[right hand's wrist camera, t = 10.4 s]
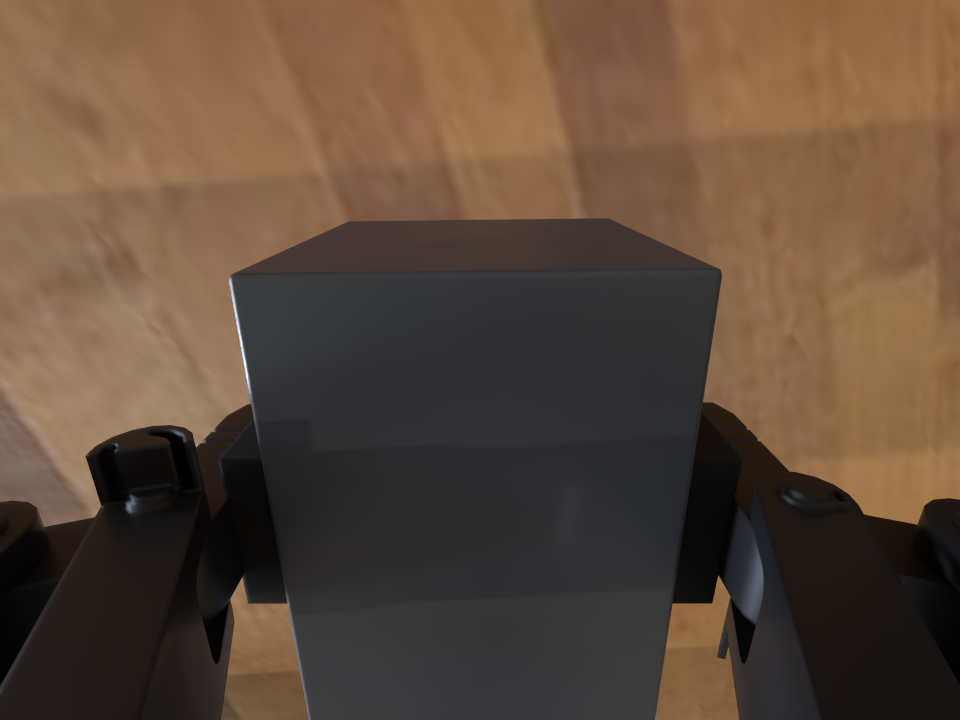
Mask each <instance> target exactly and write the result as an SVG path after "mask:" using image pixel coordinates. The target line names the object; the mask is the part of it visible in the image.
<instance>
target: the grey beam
mask: <svg viewBox="0 0 960 720" xmlns="http://www.w3.org/2000/svg"><path fill="white" fill-rule="evenodd" d="M721 278H722V274H721V270H720V269H718V268H716V267H713V266H711V265H709V264H707V263H705V262H702V261H700V260H698V259H696V258H694V257H691V256H689V255H687V254H685V253H683V252H680V251H678V250H676V249H674V248H672V247H669V246H667V245H665V244H663V243H661V242H658V241H656V240H654V239H652V238H650V237H647V236H645V235H643V234H641V233H639V232H636V231H634V230H632V229H630V228H628V227H625V226H623V225H621V224H619V223H617V222H614V221H612V220H610V219H608V218H606V219H524V220H442V221H360V222H347V223H344V224H342V225H340V226H338V227H336V228H333V229H331V230H329V231H327V232H325V233H322V234H320V235H318V236H316V237H314V238H311V239H309V240H307V241H305V242H303V243H300V244H298V245H296V246H294V247H291V248H289V249H287V250H285V251H283V252H280V253H278V254H276V255H274V256H272V257H269V258H267V259H265V260H263V261H261V262H258V263H256V264H254V265H252V266H250V267H247V268H245V269H243V270H241V271H238V272H236V273H234V274H232V275H230V277H229V285H230V291H231V296H232V302H233V307H234V313H235V318H236V324H237V329H238V335H239V340H240V346H241V351H242V357H243V362H244V368H245V373H246V379H247V384H248V389H249V395H250V400H251V406H252V411H253V417H254V422H255V428H256V433H257V439H258V444H259V450H260V455H261V461H262V466H263V472H264V477H265V482H266V488H267V493H268V499H269V504H270V510H271V515H272V521H273V526H274V532H275V537H276V543H277V548H278V554H279V559H280V565H281V570H282V575H283V581H284V586H285V592H286V597H287V603H288V608H289V614H290V619H291V625H292V630H293V636H294V641H295V647H296V652H297V658H298V663H299V668H300V674H301V679H302V685H303V690H304V696H305V701H306V707H307V712H308V718H309V720H655V715H656V708H657V701H658V695H659V688H660V682H661V675H662V668H663V662H664V655H665V649H666V642H667V635H668V629H669V622H670V616H671V609H672V602H673V596H674V589H675V582H676V576H677V569H678V563H679V556H680V549H681V543H682V536H683V530H684V523H685V516H686V510H687V503H688V496H689V490H690V483H691V477H692V470H693V463H694V457H695V450H696V444H697V437H698V430H699V424H700V417H701V410H702V404H703V397H704V391H705V384H706V377H707V371H708V364H709V358H710V351H711V344H712V338H713V331H714V325H715V318H716V311H717V305H718V298H719V291H720V285H721Z"/></svg>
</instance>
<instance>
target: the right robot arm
mask: <svg viewBox="0 0 960 720" xmlns="http://www.w3.org/2000/svg"><path fill="white" fill-rule="evenodd" d="M203 441H204V442H203V443H201V444H200V445H199V446H198V447H197V448H196V447H195V443H194V438H193V434H192V432H190V431H189V430H187V429H186V428H184V427H178V426H172V425H166V426H151V427H146V428H141V429H136V430H132V431H129V432H126V433H123V434H120V435H117V436H114V437H112V438H110V439H108V440H106V441H104V442H103V443H101V444H99V445H97V446H96V447H94V448H93V449H92V450H91V451H90V452H89V453H88V454H87V455H86V459H87V462H88V465H89V468H90V471H91V475H92V478H93V481H94V484H95V487H96V490H97V493H98V497H99V500H100V503H101V508H100V510H99V511H98V513H97V515H96V517H94V518H90V519H84V520H79V521H74V522H68V523H63V524H58V525H52V526H47V527H44V526H43V523H42V520H41V518H40V515H39V512H38V510H37V508H36V507H35V506H33V505H32V504H30V503H29V502H20V501H7V502H0V720H221V715H222V708H223V700H224V693H225V686H226V679H227V672H228V665H229V657H230V650H231V643H232V636H233V629H234V615H233V609H232V605H231V601H230V598H231V596H232V594H233V593H234V591H235V589H236V587H237V585H238V584H239V582H240V580H241V578H242V577H243V581H244V586H245V590H246V595H247V600H248V603H287V597H286V592H285V586H284V581H283V575H282V570H281V565H280V559H279V554H278V548H277V543H276V537H275V532H274V526H273V521H272V515H271V510H270V504H269V499H268V493H267V488H266V482H265V477H264V472H263V466H262V461H261V455H260V450H259V444H258V439H257V433H256V428H255V422H254V417H253V411H252V406H251V404H248V405H246V406H244V407H242V408H241V409H239V410H237V411H235V412H233V413H231V414H230V415H228V416H227V417H226V418H225V419H224V420H223V421H222V422H221V423H220V424H219V425H218V426H217V427H216V428H215V429H214V432H211V433H210V434H209V435H208V436H207V437H206V438H205V439H204V440H203ZM718 575H719V577H720V578H721V580H722V582H723V584H724V585H725V587H726V589H727V591H728V593H729V594H730V601H729V605H728V609H727V614H726V618H725V623H724V627H723V631H722V636H721V640H720V645H719V651H718V657H719V658H723V659H725V657H726V653H727V649H728V647H729V649H730V656H731V663H732V670H733V677H734V685H735V692H736V699H737V706H738V713H739V720H960V500H958V499H950V498H948V499H936V500H932V501H931V502H929V503H928V504H926V505H925V506H924V509H923V511H922V514H921V517H920V519H919V522H918V525H916V524H911V523H905V522H900V521H895V520H889V519H884V518H879V517H873V516H868V515H864V514H863V512H862V510H861V509H860V507H859V505H858V504H857V503H856V502H855V501H854V500H853V498H852V497H851V496H850V495H849V494H847V493H846V492H844V491H843V490H841V489H840V488H838V487H837V486H835V485H833V484H831V483H829V482H826V481H824V480H821V479H819V478H816V477H813V476H809V475H805V474H801V473H797V472H789V471H788V470H787V469H786V467H785V466H784V465H783V464H782V463H781V462H780V461H779V460H778V459H777V458H776V457H775V456H774V455H773V454H772V453H771V452H770V451H769V450H768V449H767V448H766V447H765V446H764V445H763V444H762V443H761V442H760V441H758V440H757V438H756V436H755V435H754V434H753V433H752V432H751V431H750V430H747V427H746V426H745V425H744V424H743V423H742V422H741V421H740V420H739V419H738V418H737V417H736V416H735V415H734V414H733V413H731V412H729V411H727V410H725V409H724V408H722V407H720V406H718V405H716V404H714V403H703V404H702V410H701V417H700V424H699V430H698V437H697V444H696V450H695V457H694V463H693V470H692V477H691V483H690V490H689V496H688V503H687V510H686V516H685V523H684V530H683V536H682V543H681V549H680V556H679V563H678V569H677V576H676V582H675V589H674V596H673V602H672V603H712V602H713V597H714V592H715V588H716V583H717V578H718Z"/></svg>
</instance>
